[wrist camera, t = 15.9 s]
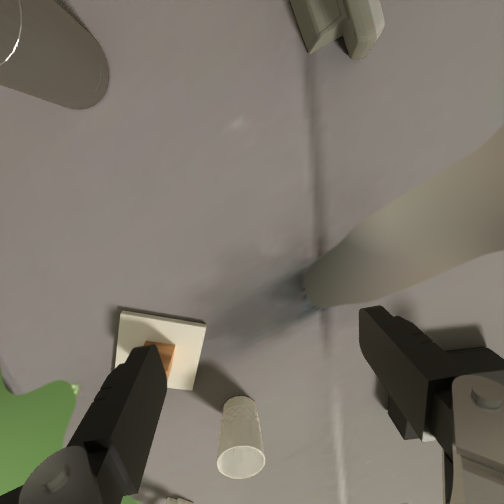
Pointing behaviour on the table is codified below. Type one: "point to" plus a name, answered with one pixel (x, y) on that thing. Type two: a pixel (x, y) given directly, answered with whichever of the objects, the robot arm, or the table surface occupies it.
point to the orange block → (164, 354)
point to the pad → (163, 331)
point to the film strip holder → (177, 501)
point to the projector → (473, 362)
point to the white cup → (240, 439)
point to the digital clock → (340, 24)
